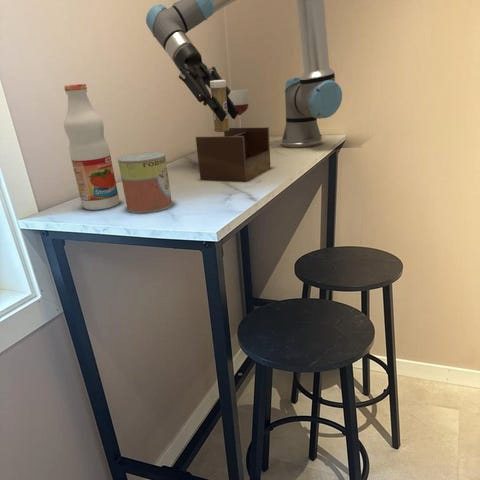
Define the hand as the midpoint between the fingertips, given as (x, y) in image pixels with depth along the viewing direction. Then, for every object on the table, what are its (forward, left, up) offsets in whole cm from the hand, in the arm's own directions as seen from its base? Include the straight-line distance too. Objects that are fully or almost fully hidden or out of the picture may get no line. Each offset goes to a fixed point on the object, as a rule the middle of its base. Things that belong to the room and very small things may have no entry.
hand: (230, 116), depth 133 cm
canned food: (+36, -5, -17) cm, 40 cm away
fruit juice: (+38, -19, -16) cm, 46 cm away
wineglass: (-52, -23, -17) cm, 59 cm away
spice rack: (-1, 0, -16) cm, 16 cm away
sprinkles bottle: (-1, -4, -4) cm, 6 cm away
